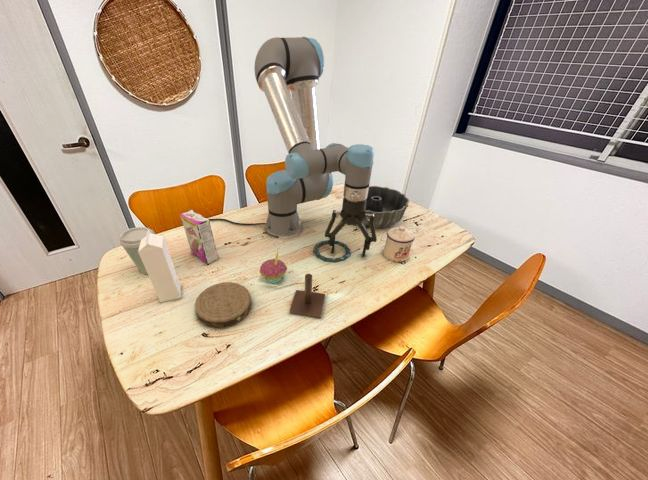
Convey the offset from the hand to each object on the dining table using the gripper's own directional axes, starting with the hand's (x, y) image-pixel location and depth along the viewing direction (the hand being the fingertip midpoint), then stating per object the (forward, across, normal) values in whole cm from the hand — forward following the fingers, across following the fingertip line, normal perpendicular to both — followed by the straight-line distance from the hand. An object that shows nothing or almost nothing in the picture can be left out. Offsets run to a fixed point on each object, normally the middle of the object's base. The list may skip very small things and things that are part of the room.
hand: (347, 254), depth 102 cm
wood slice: (0, -34, -34) cm, 48 cm away
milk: (0, -53, -32) cm, 62 cm away
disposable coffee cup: (0, -67, -22) cm, 70 cm away
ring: (-1, -6, 0) cm, 6 cm away
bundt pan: (0, +9, +30) cm, 31 cm away
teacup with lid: (0, +18, +4) cm, 19 cm away
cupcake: (0, -23, -19) cm, 30 cm away
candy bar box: (0, -52, -11) cm, 53 cm away
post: (0, -10, -28) cm, 30 cm away
